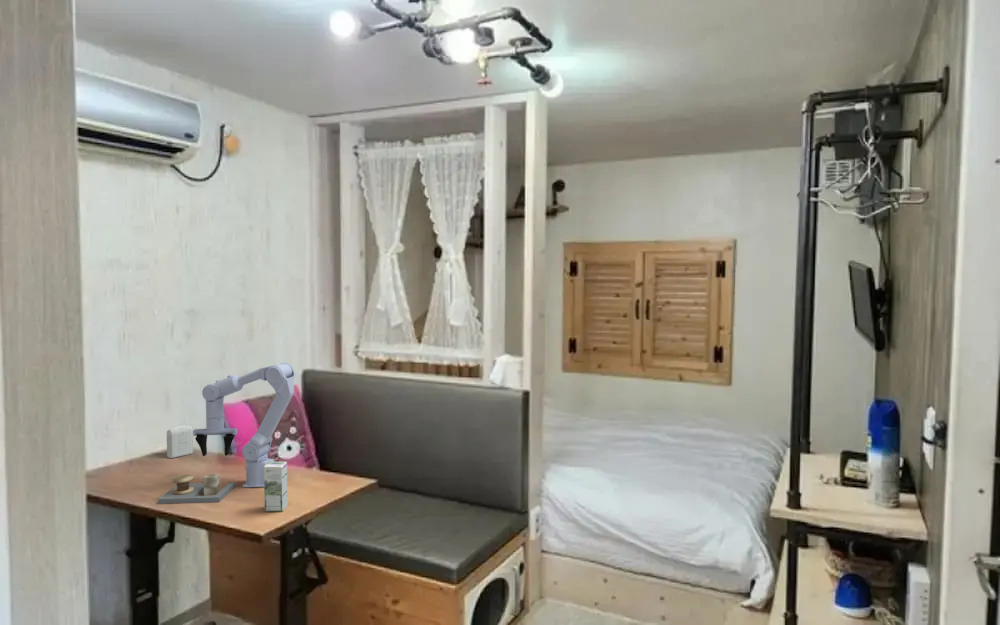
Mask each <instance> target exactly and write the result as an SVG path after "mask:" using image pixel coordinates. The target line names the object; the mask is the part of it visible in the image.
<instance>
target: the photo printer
mask: <svg viewBox="0 0 1000 625" xmlns="http://www.w3.org/2000/svg"><path fill="white" fill-rule="evenodd" d="M193 430H194V429H193V426H192V425H187V424H185V425H184V424H182V425H177V426H173V427H172V428H169V429H168V430H167V431H166V455H167V458H168V459H173V458H177V457H183V456H187V455H192V454H194V436H193Z"/></svg>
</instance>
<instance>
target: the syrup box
mask: <svg viewBox="0 0 1000 625" xmlns="http://www.w3.org/2000/svg"><path fill="white" fill-rule="evenodd" d="M263 489H264V491H263V495H264V496H263V497H264V499H263V500H264V501H263V502H264V512H267V513H268V512H271V513H272V512H283V511H284V510H285V509H286V508H287V506H288V505H289V503H288V462H287V461H275V462H268V463H267V464H266V465H265V466H264V487H263Z"/></svg>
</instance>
